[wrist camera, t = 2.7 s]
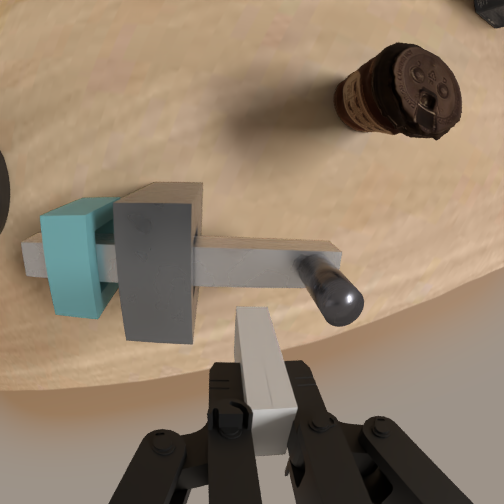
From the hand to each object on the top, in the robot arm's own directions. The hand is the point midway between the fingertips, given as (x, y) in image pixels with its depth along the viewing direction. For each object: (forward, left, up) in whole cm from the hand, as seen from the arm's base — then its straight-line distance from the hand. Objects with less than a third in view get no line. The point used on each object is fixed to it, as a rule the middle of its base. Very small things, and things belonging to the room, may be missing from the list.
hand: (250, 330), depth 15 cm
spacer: (-13, 0, -14) cm, 19 cm away
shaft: (-5, 0, -11) cm, 12 cm away
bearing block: (-6, 0, -18) cm, 19 cm away
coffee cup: (+13, +15, -19) cm, 27 cm away
